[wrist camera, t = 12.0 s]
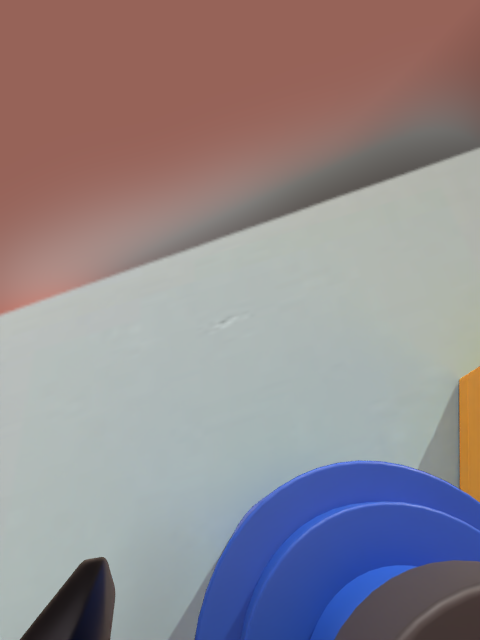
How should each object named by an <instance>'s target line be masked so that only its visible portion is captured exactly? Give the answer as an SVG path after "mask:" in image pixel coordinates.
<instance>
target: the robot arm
mask: <svg viewBox="0 0 480 640" xmlns="http://www.w3.org/2000/svg"><path fill="white" fill-rule="evenodd" d="M114 603H115V586H114V583H113V579H112V576H111V572H110V569H109V565H108V562H107V560H106V559H105V558H104V557H99V558H93V559H87V560H84V561H83V562H82V563H81V564H80V565H79V566H78V567H77V569H76V570H75V571H74V572H73V574H72V575H71V576H70V577H69V579H68V580H67V581H66V582H65V584H64V585H63V586H62V587H61V589H60V590H59V591H58V592H57V594H56V595H55V596H54V597H53V599H52V600H51V601H50V602H49V604H48V605H47V606H46V607H45V609H44V610H43V611H42V612H41V614H40V615H39V616H38V617H37V619H36V620H35V621H34V622H33V624H32V625H31V626H30V628H29V629H28V630H27V631H26V633H25V634H24V635H23V636H22V638H21V639H20V640H110V636H111V628H112V620H113V611H114Z"/></svg>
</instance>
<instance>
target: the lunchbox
mask: <svg viewBox="0 0 480 640" xmlns="http://www.w3.org/2000/svg"><path fill="white" fill-rule="evenodd" d="M459 410H460V490H462V491H464V492H466V493H467V494H469V495H470V496H472V497H473V498H474V499H476V500H477V501H478V502H480V367H478V368H476V369H475V370H473V371H472V372H470V373H469V374H467V375H465V376H464V377H462V378H461V379H460V380H459Z"/></svg>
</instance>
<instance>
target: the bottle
mask: <svg viewBox="0 0 480 640" xmlns="http://www.w3.org/2000/svg"><path fill="white" fill-rule="evenodd" d="M195 640H480V502H478V501H477V500H476V499H474V498H473V497H472V496H470V495H469V494H467V493H466V492H464V491H462V490H460V489H459V488H457V487H455V486H453V485H452V484H450V483H448V482H446V481H444V480H442V479H440V478H437V477H435V476H433V475H431V474H428V473H426V472H424V471H420V470H417V469H414V468H410V467H407V466H404V465H399V464H393V463H387V462H381V461H350V462H341V463H335V464H331V465H327V466H323V467H320V468H316V469H314V470H311V471H309V472H306V473H304V474H302V475H299V476H297V477H295V478H294V479H292V480H290V481H289V482H287V483H285V484H284V485H282V486H280V487H279V488H277V489H276V490H274V491H273V492H272V493H270V494H269V495H267V496H266V497H265V498H263V499H262V500H260V501H259V502H258V503H257V504H256V505H254V506H253V507H252V508H251V509H250V510H249V511H248V512H247V513H246V514H245V516H244V517H243V519H242V520H241V521H240V523H239V524H238V526H237V528H236V530H235V531H234V533H233V535H232V537H231V539H230V540H229V542H228V544H227V546H226V548H225V549H224V551H223V553H222V555H221V557H220V559H219V560H218V562H217V564H216V567H215V569H214V572H213V574H212V577H211V579H210V582H209V584H208V587H207V589H206V593H205V596H204V600H203V603H202V607H201V611H200V614H199V618H198V623H197V629H196V635H195Z"/></svg>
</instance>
